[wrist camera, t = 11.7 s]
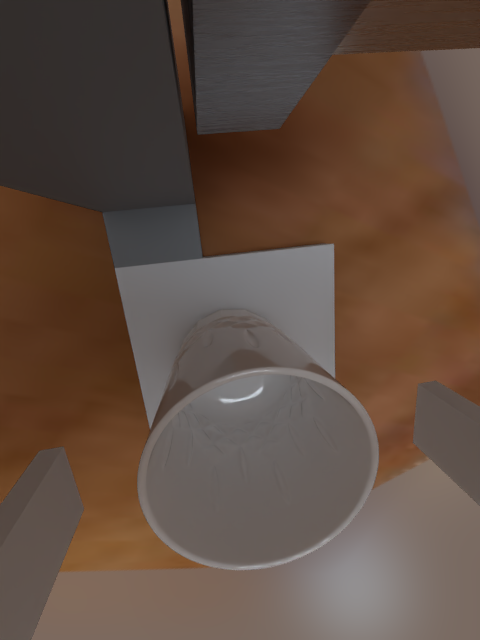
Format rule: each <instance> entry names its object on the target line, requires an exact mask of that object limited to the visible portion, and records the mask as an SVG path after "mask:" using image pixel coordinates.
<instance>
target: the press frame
mask: <svg viewBox="0 0 480 640" xmlns="http://www.w3.org/2000/svg"><path fill="white" fill-rule="evenodd" d="M0 185H1V186H4V187H8V188H12V189H16V190H20V191H24V192H27V193H31V194H35V195H39V196H43V197H46V198H50V199H54V200H58V201H62V202H65V203H69V204H73V205H77V206H81V207H84V208H88V209H92V210H96V211H100V212H102V213H103V218H104V222H105V227H106V231H107V236H108V241H109V245H110V250H111V254H112V259H113V263H114V268H115V272H116V277H117V281H118V286H119V290H120V295H121V300H122V304H123V309H124V313H125V318H126V322H127V327H128V331H129V336H130V340H131V345H132V350H133V354H134V359H135V363H136V368H137V372H138V377H139V381H140V386H141V390H142V395H143V399H144V404H145V409H146V413H147V418H148V422H149V427H150V429H151V426H152V423H153V420H154V417H155V414H156V412H157V409H158V406H159V403H160V400H161V397H162V394H163V391H164V388H165V385H166V382H167V379H168V376H169V374H170V372H171V369H172V366H173V363H174V361H175V359H176V357H177V355H178V353H179V351H180V349H181V345H182V342H183V339H184V338H185V337H186V335H187V334H188V333H189V332H190V330H191V329H192V328H193V327H194V325H195V324H196V323H197V322H198V320H200V319H202V318H204V317H206V316H208V315H211V314H213V313H215V312H217V311H219V310H226V309H246V310H248V311H250V312H252V313H255V314H257V315H259V316H261V317H264V318H266V319H267V320H268V321H269V322H270V323H271V324H272V325H273V326H275V327H276V328H278V329H279V330H281V331H282V332H283V333H285V334H286V335H287V336H288V337H289V338H290V339H292V340H293V341H294V342H295V343H297V344H298V345H299V346H300V347H301V348H302V349H303V350H305V351H306V352H307V353H308V354H309V355H310V356H311V357H312V358H313V359H314V360H315V361H316V362H318V363H319V364H320V365H321V366H322V367H323V368H324V369H325V370H326V371H327V372H328V373H329V374H330V375H332V376H333V377H334V378H335V316H334V244H315V245H306V246H297V247H288V248H279V249H270V250H261V251H251V252H242V253H233V254H224V255H215V256H206V257H203V256H202V249H201V241H200V234H199V226H198V219H197V211H196V204H195V196H194V189H193V181H192V174H191V166H190V159H189V151H188V144H187V136H186V129H185V121H184V114H183V107H182V100H181V93H180V85H179V78H178V71H177V64H176V57H175V50H174V43H173V36H172V29H171V22H170V15H169V8H168V1H167V0H0Z"/></svg>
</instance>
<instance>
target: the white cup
mask: <svg viewBox="0 0 480 640" xmlns="http://www.w3.org/2000/svg"><path fill="white" fill-rule="evenodd" d="M378 462H379V446H378V439H377V435H376V431H375V428H374V425H373V423H372V421H371V419H370V417H369V415H368V413H367V411H366V410H365V408H364V407H363V406H362V404H361V403H360V402H359V401H358V400H357V398H356V397H355V396H354V395H353V394H351V393H350V392H349V391H348V390H347V389H346V388H345V387H344V386H343V385H341V384H340V383H339V382H338V381H337V380H336V379H335V378H334V377H333V376H332V375H330V374H329V373H328V372H327V371H326V370H325V369H324V368H323V367H322V366H321V365H320V364H319V363H318V362H316V361H315V360H314V359H313V358H312V357H311V356H310V355H309V354H308V353H307V352H306V351H305V350H303V349H302V348H301V347H300V346H299V345H298V344H297V343H295V342H294V341H293V340H292V339H290V338H289V337H288V336H287V335H286V334H285V333H283V332H282V331H281V330H279V329H278V328H276V327H275V326H273V325H272V324H271V323H270V322H269V321H268V320H267V319H266V318H264V317H261V316H259V315H257V314H255V313H252V312H250V311H248V310H246V309H226V310H219V311H217V312H215V313H213V314H211V315H208V316H206V317H204V318H202V319H200V320H198V322H197V323H196V324H195V325H194V327H193V328H192V329H191V330H190V332H189V333H188V334H187V335H186V337H185V338H184V339H183V342H182V345H181V349H180V351H179V353H178V355H177V357H176V359H175V361H174V363H173V366H172V369H171V372H170V374H169V376H168V379H167V382H166V385H165V388H164V391H163V394H162V397H161V400H160V403H159V406H158V409H157V412H156V414H155V417H154V420H153V423H152V426H151V429H150V432H149V435H148V438H147V441H146V443H145V446H144V449H143V452H142V455H141V459H140V463H139V468H138V475H137V489H138V497H139V502H140V505H141V508H142V511H143V514H144V516H145V518H146V520H147V522H148V524H149V525H150V527H151V528H152V530H153V531H154V532H155V534H156V535H157V536H158V537H159V538H160V539H161V540H162V541H163V542H164V543H165V544H166V545H167V546H169V547H170V548H171V549H172V550H174V551H175V552H177V553H178V554H180V555H182V556H184V557H186V558H188V559H190V560H192V561H194V562H197V563H200V564H203V565H206V566H210V567H215V568H220V569H228V570H255V569H263V568H269V567H274V566H278V565H281V564H285V563H288V562H291V561H294V560H296V559H299V558H301V557H303V556H306V555H308V554H310V553H312V552H313V551H315V550H317V549H319V548H320V547H322V546H324V545H325V544H326V543H328V542H329V541H331V540H332V539H333V538H335V537H336V536H337V535H338V534H339V533H340V532H342V531H343V530H344V529H345V528H346V527H347V526H348V525H349V523H351V521H352V520H353V519H354V518H355V517H356V515H357V514H358V513H359V511H360V510H361V508H362V507H363V505H364V503H365V502H366V500H367V498H368V496H369V494H370V492H371V490H372V487H373V485H374V482H375V478H376V475H377V470H378Z"/></svg>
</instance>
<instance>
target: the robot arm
mask: <svg viewBox="0 0 480 640" xmlns="http://www.w3.org/2000/svg"><path fill="white" fill-rule="evenodd" d="M413 443H414V444H415V445H416V446H417V447H418V448H419V449H420V450H421V451H422V452H423V453H424V454H426V455H427V456H428V457H429V458H430V459H431V460H432V461H433V462H434V463H435V464H436V465H437V466H438V467H439V468H440V469H441V470H442V471H444V472H445V473H446V474H447V475H448V476H449V477H450V478H451V479H452V480H453V481H454V482H455V483H456V484H457V485H458V486H459V487H460V488H462V489H463V490H464V491H465V492H466V493H467V494H468V495H469V496H470V497H471V498H472V499H473V500H474V501H475V502H476V503H477V504H478V505H480V407H479V406H477V405H476V404H474V403H472V402H471V401H469V400H467V399H466V398H464V397H462V396H461V395H459V394H457V393H456V392H454V391H452V390H451V389H449V388H447V387H446V386H444V385H442V384H441V383H439V382H437V381H432V382H426V383H420V384H418V391H417V402H416V413H415V425H414V436H413ZM83 511H84V507H83V504H82V501H81V498H80V495H79V492H78V489H77V486H76V483H75V480H74V477H73V474H72V471H71V468H70V465H69V462H68V459H67V455H66V452H65V449H64V447H58V448H52V449H47V450H41V451H39V452H38V454H37V455H36V456H35V458H34V459H33V460H32V462H31V463H30V465H29V466H28V467H27V469H26V470H25V471H24V473H23V474H22V476H21V477H20V478H19V480H18V481H17V483H16V484H15V485H14V487H13V488H12V489H11V491H10V492H9V494H8V495H7V496H6V498H5V499H4V500H3V502H2V503H1V505H0V640H31V639H32V636H33V634H34V631H35V629H36V626H37V624H38V621H39V619H40V616H41V614H42V611H43V609H44V607H45V604H46V602H47V599H48V597H49V594H50V592H51V589H52V587H53V584H54V582H55V580H56V577H57V575H58V572H59V570H60V567H61V565H62V562H63V560H64V557H65V555H66V552H67V550H68V547H69V545H70V543H71V540H72V538H73V535H74V533H75V530H76V528H77V525H78V523H79V520H80V518H81V515H82V513H83Z"/></svg>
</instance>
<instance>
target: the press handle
mask: <svg viewBox="0 0 480 640" xmlns="http://www.w3.org/2000/svg"><path fill="white" fill-rule="evenodd" d="M181 6H182V14H183V22H184V30H185V38H186V46H187V54H188V62H189V71H190V79H191V87H192V95H193V103H194V111H195V119H196V127H197V134H212V133H226V132H240V131H254V130H269V129H280V127H281V126H282V124H283V123H284V122H285V120H286V119H287V117H288V116H289V115H290V113H291V112H292V110H293V109H294V108H295V106H296V105H297V103H298V102H299V101H300V99H301V98H302V96H303V95H304V94H305V92H306V91H307V89H308V88H309V87H310V85H311V84H312V82H313V81H314V80H315V78H316V77H317V75H318V74H319V73H320V71H321V70H322V68H323V67H324V66H325V64H326V63H327V61H328V60H329V59H330V57H331V56H332V55H337V54H359V53H380V52H402V51H424V50H445V49H467V48H480V0H181Z"/></svg>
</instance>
